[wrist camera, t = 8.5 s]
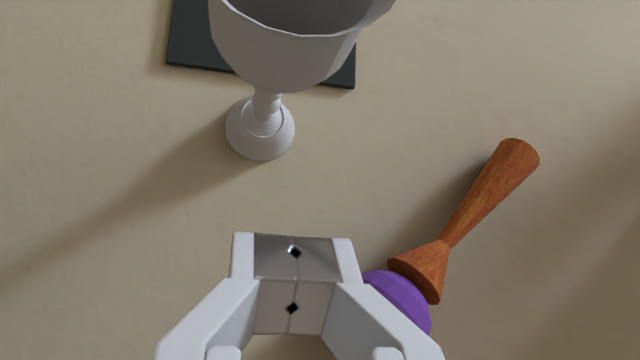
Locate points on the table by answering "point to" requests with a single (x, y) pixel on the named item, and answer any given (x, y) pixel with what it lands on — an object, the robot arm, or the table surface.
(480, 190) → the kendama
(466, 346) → the table surface
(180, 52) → the mat
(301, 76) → the chalice
